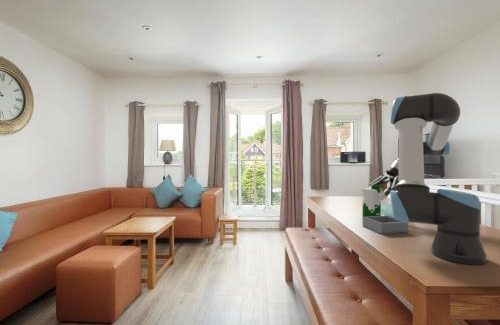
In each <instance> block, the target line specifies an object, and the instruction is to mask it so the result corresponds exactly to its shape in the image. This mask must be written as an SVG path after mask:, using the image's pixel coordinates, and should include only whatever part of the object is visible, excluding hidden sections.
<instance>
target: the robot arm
mask: <svg viewBox="0 0 500 325" xmlns="http://www.w3.org/2000/svg"><path fill="white" fill-rule="evenodd" d="M392 102H393V103H392V107H391V113H390V114H391V115H390V124H391V125H394V129H395V130H397V131H398V133H397V134H398V157H397V159H396V160H394V162H393V163H391V165H390V166H389V167H388V168H387V170H386V171H385V175H383V174H381V175H379V177H377V178H376V179H374V180H373V181H371V182H370V183H369V184H368V186H369V187H368V188H371V187H372V185H378V186H379V187H380V186H381V185H385V184H387V188H385V190H383V191H382V192H381V195H380V196H379V198H380V199H381V202H383V201H384V200H385V199H386V198H387V197H388V196H389V195H390V203H391V209H392V215H393V218H395V219H396V220H398V221H404V222H408V224H409V223H415V224H424V225H426V224H427V225H435V226H437V227H436V228H437V229H436V230H437V231H436V234H435V237H434V239H433V242H432V244H431V247H430V250H431V254H432V255H433V256H435V257H437V258H440V259H442V260H444V261H445V260H446V261H450V262H453V263H458V264H464V265H474V266H476V265H477V266H478V265H484V264H487V253H486V252H485V248H484V245H483V244H482V240H481V238H480V236H481V235H480V234H481V230H480V228H481V226H480V225H481V224H480V222H481V210H482V208H481V203H480V197H478V195H476V194H473V193H469V192H465V191H460V190H453V189H445V188H438V189H437V191H436V192H430V186H429V185H427V184H426V182H425V164H424V163H425V162H424V160H425V159H424V157H425V156H428V157H431V156H432V157H441V156H449V153H450V149H451V148H450V146H451V145H450V142H449V141H448V140H449V137H450V135H451V132H452V129H453V127H454V125H455V124H456V123H457V122H458V120H459V118H460V116H461V107H460V105H459V104H458V102H457V101H456V99H454V98H453V97H452V96H450V95H448V94H446V93H441V92H432V93H424V94H423V93H422V94H416V95H415V94H414V95H404V96H398V97H396V98H394V100H393V101H392ZM431 122H432V124H431V128H430V132H429V136H428V141H424V137H423V136H424V133H423V129H424V128H426V127H427V125H428V123H431Z"/></svg>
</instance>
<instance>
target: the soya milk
mask: <svg viewBox="0 0 500 325" xmlns="http://www.w3.org/2000/svg"><path fill="white" fill-rule="evenodd" d="M382 192H383V191H382V188H380V185H379V186H378V185H372V187H371V188H369V187H367V188H361V194H362V195H361V196H362V218H363V217H370V216H382V214H381V213H382V209H381V208H382V207H381V206H382V203H381V202H382V200H381V199H380V198H379V196H380V195H381V194H382Z"/></svg>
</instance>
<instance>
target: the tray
mask: <svg viewBox="0 0 500 325" xmlns="http://www.w3.org/2000/svg"><path fill="white" fill-rule="evenodd" d="M408 225H409V223H408V222H404V221H398V220H396V219H395V218H394V216H393V217H391V216H389V215H381V216H370V217H363V216H362V228H366V229H367V230H370V231H372V232H375V233H377V234H379V233H380V234H379V235H391V234H407V233H409V229H408V228H409V226H408Z"/></svg>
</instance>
